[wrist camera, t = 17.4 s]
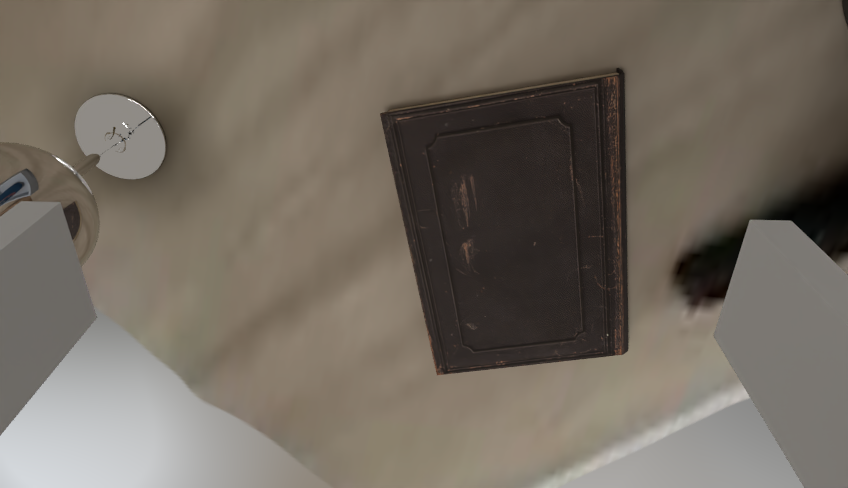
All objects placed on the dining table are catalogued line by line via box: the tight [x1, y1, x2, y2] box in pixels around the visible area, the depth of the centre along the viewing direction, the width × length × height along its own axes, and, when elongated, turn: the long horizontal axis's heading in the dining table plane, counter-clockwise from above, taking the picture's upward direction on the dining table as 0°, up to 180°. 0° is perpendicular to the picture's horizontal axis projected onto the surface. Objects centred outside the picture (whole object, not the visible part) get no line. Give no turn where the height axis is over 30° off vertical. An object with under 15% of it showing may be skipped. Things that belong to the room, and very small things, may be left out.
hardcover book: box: [380, 68, 628, 375], centre depth 46 cm, size 16×23×2 cm
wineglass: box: [0, 93, 166, 267], centre depth 36 cm, size 8×8×18 cm
